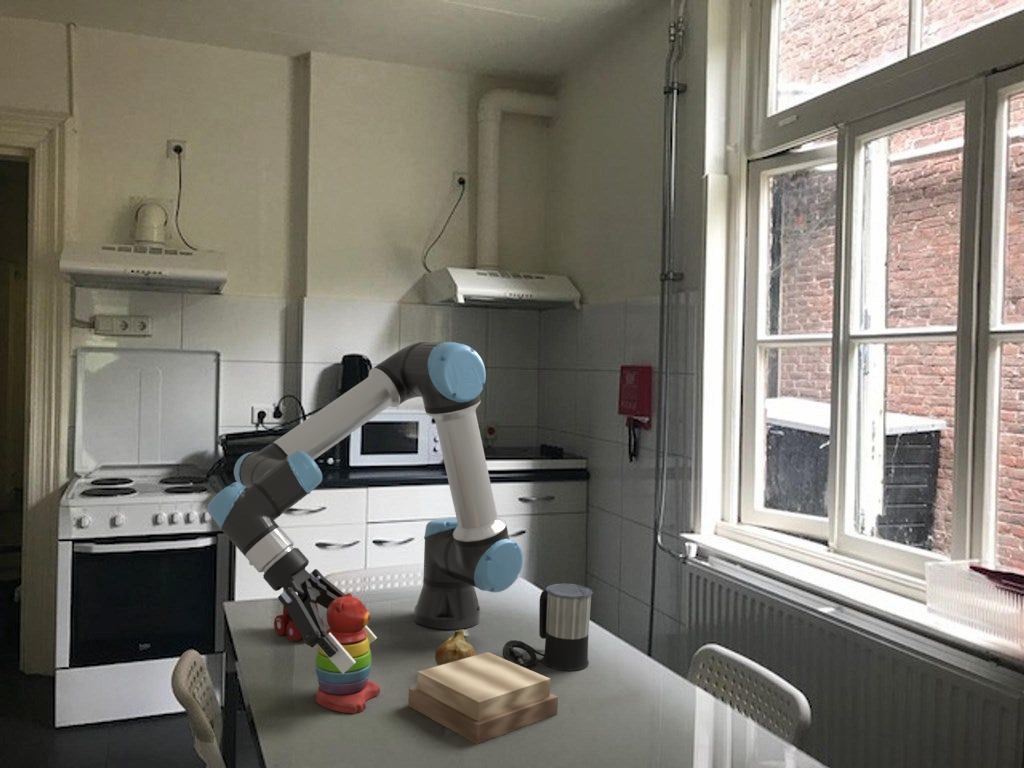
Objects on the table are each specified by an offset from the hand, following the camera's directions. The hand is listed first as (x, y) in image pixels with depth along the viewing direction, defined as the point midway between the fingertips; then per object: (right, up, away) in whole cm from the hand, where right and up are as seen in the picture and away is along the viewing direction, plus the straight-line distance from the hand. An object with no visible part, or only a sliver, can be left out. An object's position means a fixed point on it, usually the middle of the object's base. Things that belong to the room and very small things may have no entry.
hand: (360, 655), depth 143 cm
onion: (+15, -8, +15) cm, 23 cm away
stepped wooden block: (+21, -9, -2) cm, 23 cm away
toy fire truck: (-19, -7, +32) cm, 38 cm away
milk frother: (+33, -9, +22) cm, 40 cm away
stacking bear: (-3, -8, +1) cm, 9 cm away
